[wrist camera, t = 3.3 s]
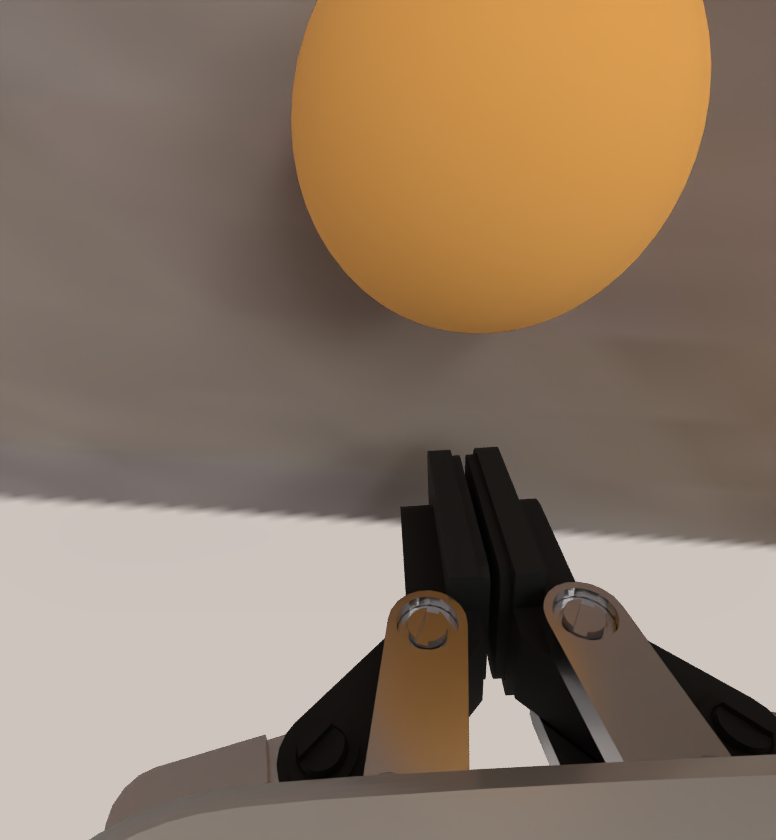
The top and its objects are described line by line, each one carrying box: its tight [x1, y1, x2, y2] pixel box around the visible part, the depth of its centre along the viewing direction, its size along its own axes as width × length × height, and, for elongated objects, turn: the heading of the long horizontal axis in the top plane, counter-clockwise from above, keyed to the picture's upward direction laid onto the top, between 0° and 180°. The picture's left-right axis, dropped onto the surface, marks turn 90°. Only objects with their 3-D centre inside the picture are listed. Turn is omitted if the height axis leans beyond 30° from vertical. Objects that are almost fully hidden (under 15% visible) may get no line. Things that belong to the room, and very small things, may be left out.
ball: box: [291, 0, 711, 333], centre depth 7 cm, size 6×6×6 cm
